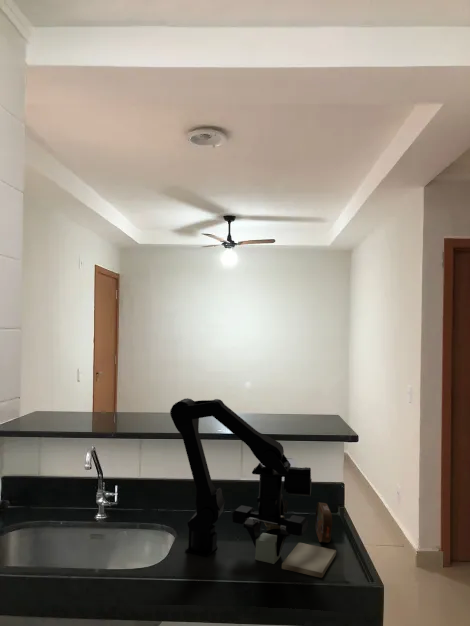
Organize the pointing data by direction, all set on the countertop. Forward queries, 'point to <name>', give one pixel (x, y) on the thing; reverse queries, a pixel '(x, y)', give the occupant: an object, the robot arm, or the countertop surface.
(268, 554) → the sage cube
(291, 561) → the maple board
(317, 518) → the tin
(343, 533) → the countertop surface
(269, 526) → the beige lumpy figure
